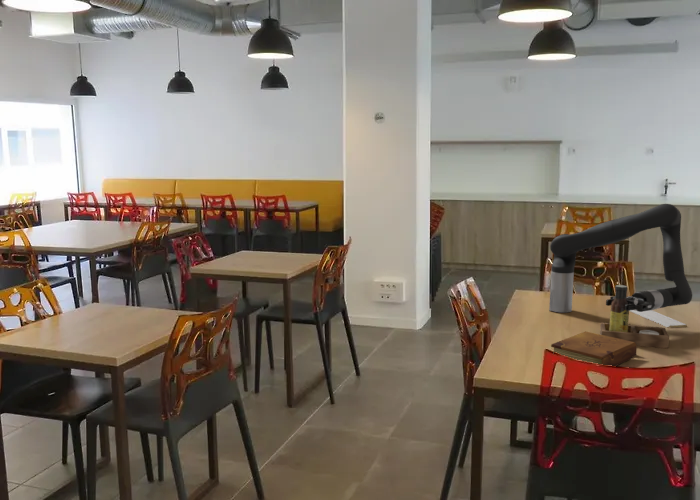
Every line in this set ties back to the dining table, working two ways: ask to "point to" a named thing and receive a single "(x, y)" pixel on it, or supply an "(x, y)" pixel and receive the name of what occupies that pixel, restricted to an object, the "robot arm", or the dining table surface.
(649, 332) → the white oval piece
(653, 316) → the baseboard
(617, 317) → the sauce bottle
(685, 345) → the dining table surface
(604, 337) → the diary
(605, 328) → the caddy
